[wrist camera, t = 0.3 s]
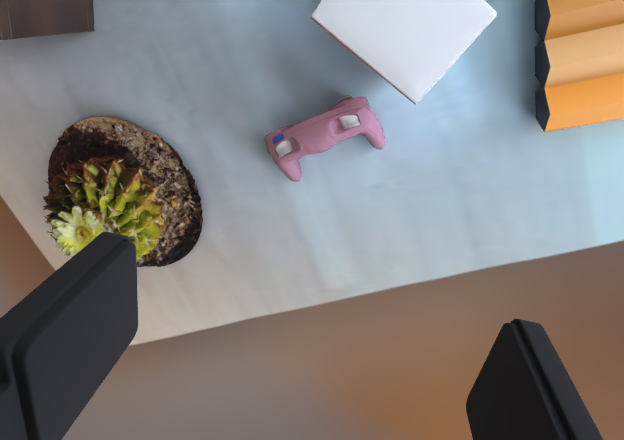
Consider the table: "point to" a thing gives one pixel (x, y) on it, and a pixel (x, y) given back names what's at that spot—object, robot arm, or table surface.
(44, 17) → the cabinet
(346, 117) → the video game controller
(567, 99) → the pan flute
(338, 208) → the table surface
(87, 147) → the cactus
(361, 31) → the small box
